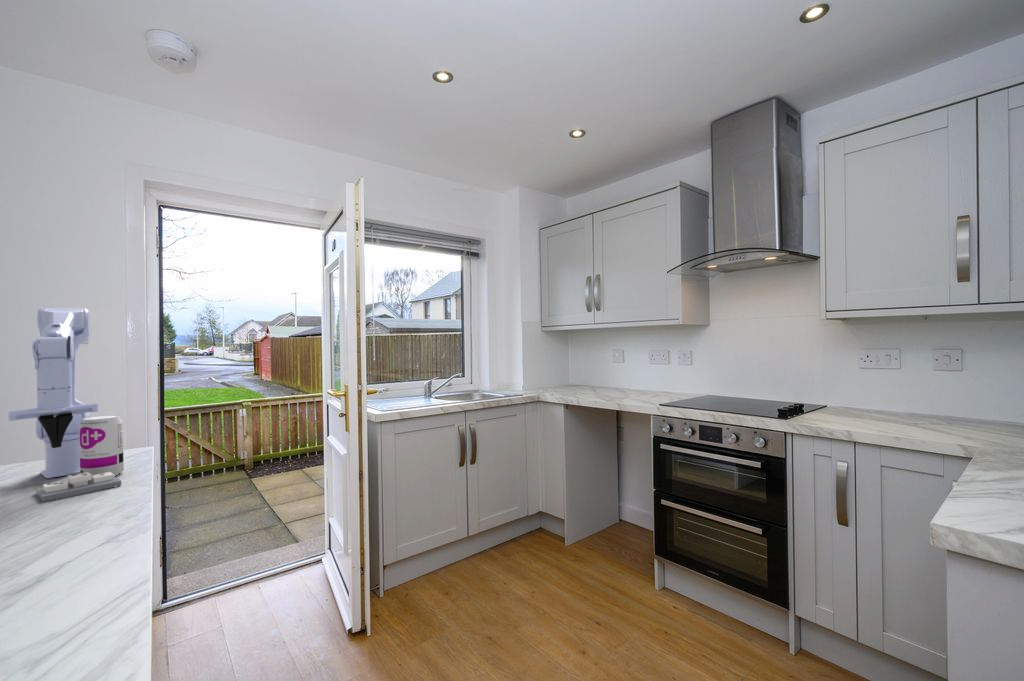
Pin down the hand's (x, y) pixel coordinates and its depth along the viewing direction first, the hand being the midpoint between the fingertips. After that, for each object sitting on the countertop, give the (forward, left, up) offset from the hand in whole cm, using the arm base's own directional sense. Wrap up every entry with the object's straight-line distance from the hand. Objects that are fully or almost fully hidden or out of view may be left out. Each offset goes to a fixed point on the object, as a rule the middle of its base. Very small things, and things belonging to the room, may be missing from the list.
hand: (56, 447), depth 106 cm
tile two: (+5, +3, -10) cm, 11 cm away
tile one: (+4, +7, -10) cm, 13 cm away
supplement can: (-5, +9, -10) cm, 14 cm away
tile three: (+5, -1, -10) cm, 11 cm away
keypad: (+5, +3, -10) cm, 11 cm away
